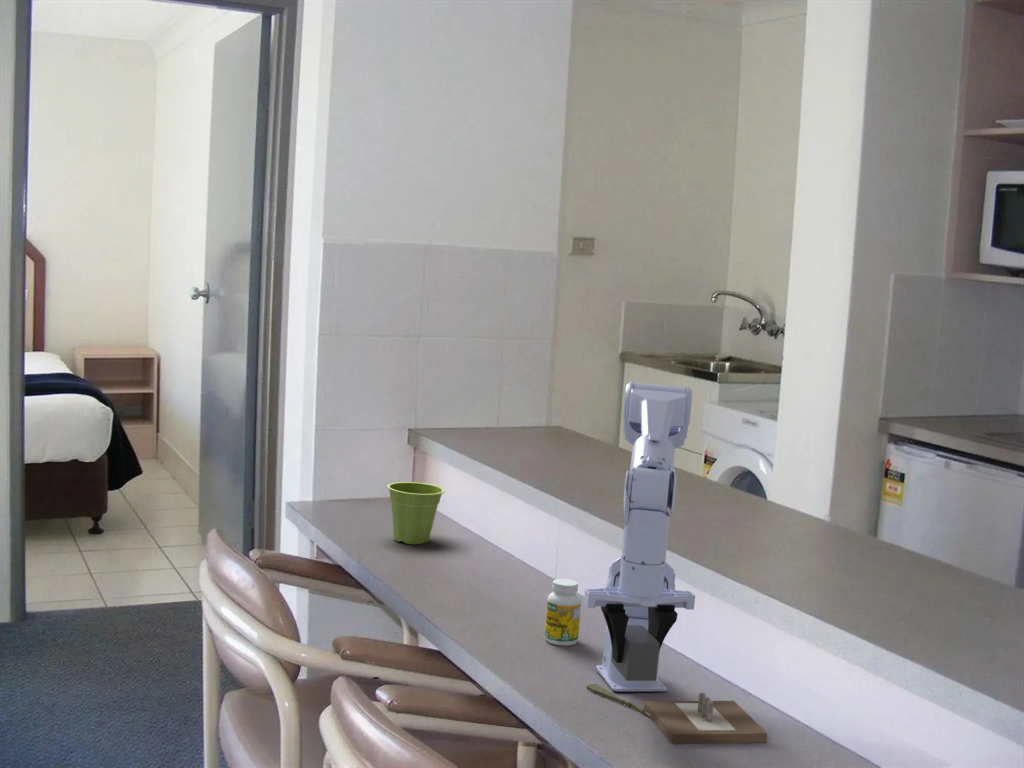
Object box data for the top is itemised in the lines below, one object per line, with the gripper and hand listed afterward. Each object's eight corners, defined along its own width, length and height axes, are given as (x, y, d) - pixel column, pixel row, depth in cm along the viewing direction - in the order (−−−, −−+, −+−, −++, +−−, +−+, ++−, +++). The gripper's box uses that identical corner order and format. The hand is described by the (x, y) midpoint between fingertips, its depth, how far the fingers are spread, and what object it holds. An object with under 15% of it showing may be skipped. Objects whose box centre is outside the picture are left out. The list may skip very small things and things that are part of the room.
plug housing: (606, 656, 157) (609, 620, 157) (634, 656, 158) (638, 620, 158) (626, 680, 148) (629, 642, 148) (656, 680, 149) (659, 643, 149)
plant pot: (404, 550, 232) (408, 495, 231) (372, 536, 242) (376, 483, 240) (451, 544, 240) (455, 491, 239) (419, 531, 249) (423, 480, 248)
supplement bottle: (583, 640, 185) (588, 582, 184) (568, 649, 180) (573, 589, 179) (553, 633, 188) (558, 575, 187) (537, 641, 183) (542, 582, 182)
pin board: (643, 709, 158) (646, 682, 157) (733, 709, 161) (735, 682, 160) (671, 743, 147) (674, 714, 147) (766, 742, 150) (769, 714, 150)
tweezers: (584, 691, 164) (585, 684, 164) (595, 689, 165) (595, 682, 165) (645, 721, 154) (646, 715, 154) (656, 719, 156) (657, 712, 156)
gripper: (598, 566, 145) (588, 671, 147) (707, 569, 148) (696, 671, 150) (583, 551, 152) (574, 651, 154) (687, 554, 155) (678, 652, 157)
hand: (633, 660), depth 152 cm, fingers closed on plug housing, 4 cm apart
